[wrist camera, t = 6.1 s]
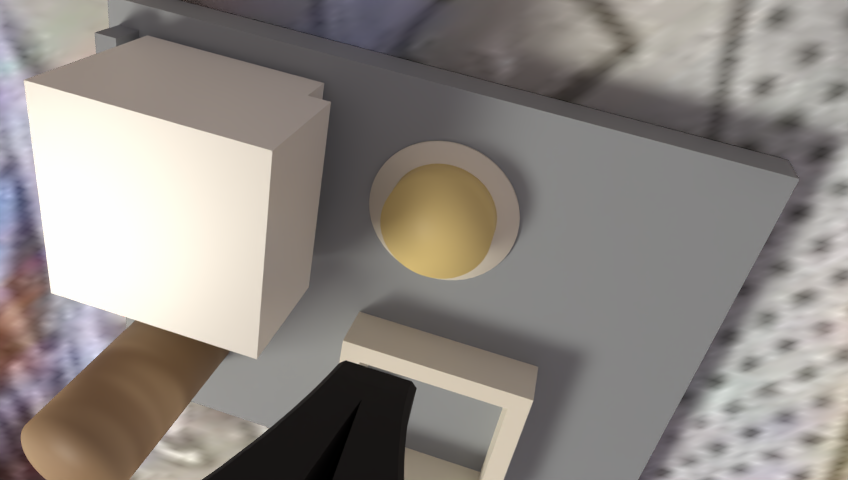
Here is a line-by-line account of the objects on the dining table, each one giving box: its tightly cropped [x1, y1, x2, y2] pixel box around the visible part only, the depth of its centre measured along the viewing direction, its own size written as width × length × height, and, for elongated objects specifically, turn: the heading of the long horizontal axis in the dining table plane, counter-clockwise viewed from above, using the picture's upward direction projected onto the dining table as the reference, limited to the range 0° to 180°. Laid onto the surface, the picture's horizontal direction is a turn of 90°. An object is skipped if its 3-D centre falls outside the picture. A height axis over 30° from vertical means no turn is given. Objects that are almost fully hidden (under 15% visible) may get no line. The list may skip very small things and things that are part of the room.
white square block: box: [24, 35, 331, 359], centre depth 17 cm, size 6×6×4 cm
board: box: [95, 0, 799, 480], centre depth 20 cm, size 18×14×3 cm
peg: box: [21, 320, 230, 480], centre depth 20 cm, size 3×3×6 cm
